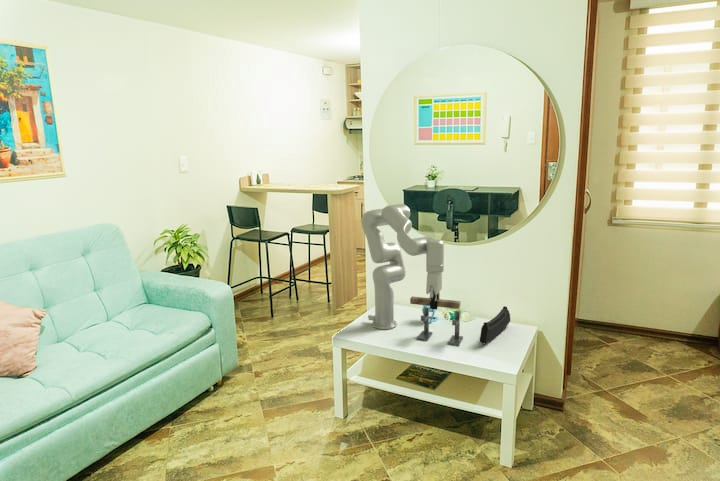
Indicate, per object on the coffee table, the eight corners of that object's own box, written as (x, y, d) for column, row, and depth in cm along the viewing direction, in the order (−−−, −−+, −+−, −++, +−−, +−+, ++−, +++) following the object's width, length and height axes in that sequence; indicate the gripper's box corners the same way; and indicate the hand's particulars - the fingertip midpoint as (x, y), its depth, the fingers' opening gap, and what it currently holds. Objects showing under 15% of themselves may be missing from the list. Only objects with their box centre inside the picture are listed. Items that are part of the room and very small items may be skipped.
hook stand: (417, 339, 232) (417, 311, 229) (422, 332, 240) (422, 305, 237) (459, 345, 224) (459, 317, 221) (463, 338, 232) (463, 310, 229)
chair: (420, 322, 253) (420, 300, 250) (424, 317, 260) (424, 295, 258) (434, 324, 250) (435, 302, 247) (438, 318, 258) (438, 297, 255)
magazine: (484, 330, 219) (508, 294, 240) (477, 328, 221) (502, 293, 242) (487, 359, 227) (510, 322, 247) (480, 357, 229) (504, 321, 249)
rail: (410, 303, 220) (410, 298, 219) (412, 301, 222) (412, 296, 222) (458, 308, 211) (458, 303, 211) (460, 306, 214) (460, 301, 213)
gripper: (431, 262, 222) (431, 301, 226) (421, 271, 207) (421, 312, 211) (447, 264, 219) (447, 302, 223) (438, 273, 204) (438, 314, 208)
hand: (434, 307), depth 217 cm, fingers closed on rail, 3 cm apart
